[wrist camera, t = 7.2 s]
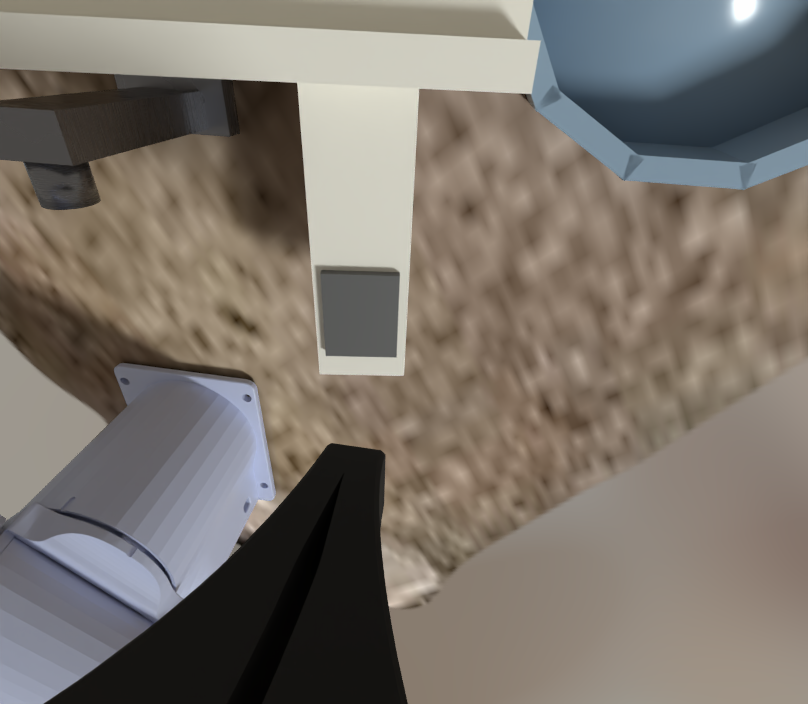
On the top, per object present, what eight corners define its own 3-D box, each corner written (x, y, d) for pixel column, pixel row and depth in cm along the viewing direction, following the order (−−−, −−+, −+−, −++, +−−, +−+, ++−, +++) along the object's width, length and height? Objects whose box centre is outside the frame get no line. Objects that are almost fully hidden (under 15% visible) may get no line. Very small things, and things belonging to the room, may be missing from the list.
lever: (469, 361, 17) (481, 410, 15) (-199, 346, 16) (-299, 397, 14) (592, -460, 8) (681, -686, 5) (-1017, -624, 7) (-1790, -994, 4)
